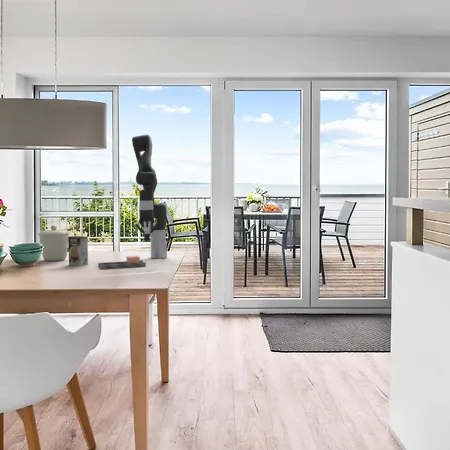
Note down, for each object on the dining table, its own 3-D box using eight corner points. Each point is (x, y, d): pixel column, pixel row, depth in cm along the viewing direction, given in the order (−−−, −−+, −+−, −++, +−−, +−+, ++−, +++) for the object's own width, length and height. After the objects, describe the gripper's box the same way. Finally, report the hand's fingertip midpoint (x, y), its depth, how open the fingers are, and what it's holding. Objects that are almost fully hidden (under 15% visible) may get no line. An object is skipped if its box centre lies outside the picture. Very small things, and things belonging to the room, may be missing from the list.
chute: (142, 265, 281) (142, 260, 281) (146, 268, 272) (145, 262, 271) (98, 268, 273) (98, 262, 272) (100, 271, 263) (100, 265, 263)
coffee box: (68, 265, 285) (67, 236, 284) (76, 263, 291) (75, 235, 289) (80, 266, 281) (79, 237, 279) (88, 264, 286) (87, 236, 285)
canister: (32, 262, 298) (31, 226, 296) (48, 257, 315) (47, 223, 314) (61, 262, 294) (60, 226, 293) (75, 258, 312) (74, 224, 310)
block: (137, 264, 278) (137, 255, 278) (139, 266, 272) (139, 257, 272) (126, 265, 276) (126, 256, 275) (128, 267, 270) (128, 257, 270)
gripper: (156, 208, 280) (157, 239, 281) (133, 208, 276) (133, 240, 277) (159, 209, 273) (160, 240, 274) (135, 209, 269) (135, 241, 270)
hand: (146, 240), depth 276 cm, fingers closed
